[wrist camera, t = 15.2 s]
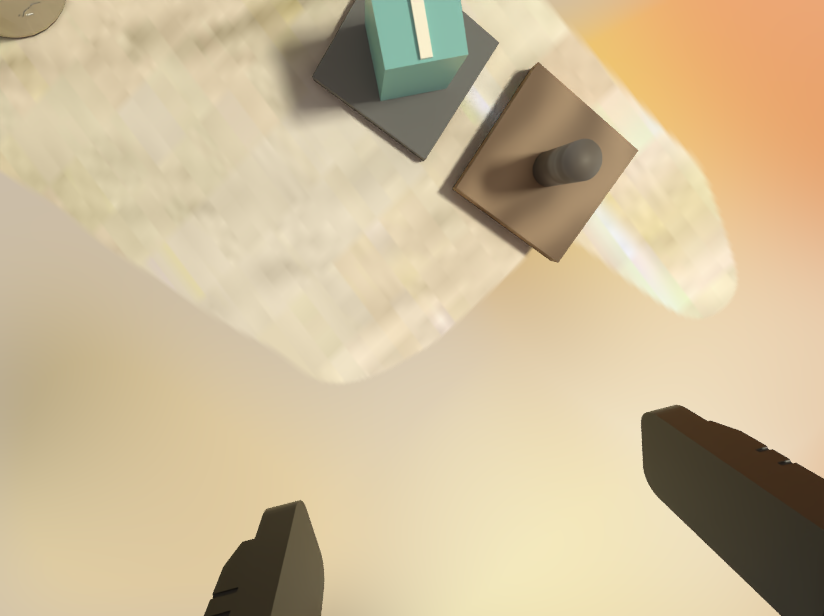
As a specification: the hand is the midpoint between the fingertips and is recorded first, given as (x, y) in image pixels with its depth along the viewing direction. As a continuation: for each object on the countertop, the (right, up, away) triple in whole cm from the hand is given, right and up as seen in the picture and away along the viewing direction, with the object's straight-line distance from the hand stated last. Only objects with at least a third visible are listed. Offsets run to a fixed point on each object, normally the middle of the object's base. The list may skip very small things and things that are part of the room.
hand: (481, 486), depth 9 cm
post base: (+10, +17, +26) cm, 33 cm away
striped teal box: (-2, +24, +22) cm, 33 cm away
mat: (-2, +24, +23) cm, 34 cm away
